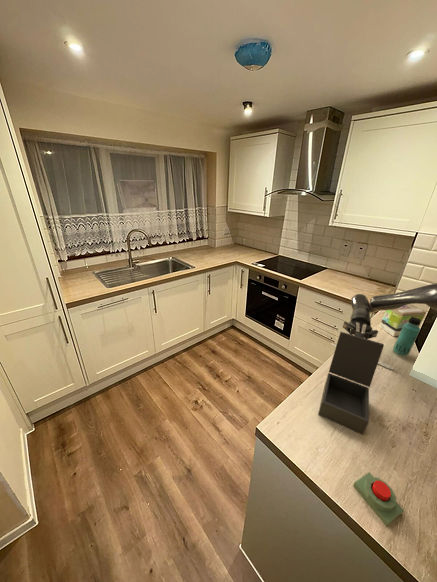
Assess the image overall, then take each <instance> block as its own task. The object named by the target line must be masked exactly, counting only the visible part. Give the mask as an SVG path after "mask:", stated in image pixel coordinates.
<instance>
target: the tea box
mask: <svg viewBox="0 0 437 582" xmlns="http://www.w3.org/2000/svg"><path fill="white" fill-rule="evenodd" d="M426 314H427V311H425V310H423V309H421V308H420V307H418V306H415V305H414V304H407V305H404V306H402V307H400V308H398V309H394V310H385V311H384V314H383V316H382V319H381V321H380V323H379V326H378V327H379V328H380V329H382V330H383V331H385V332H386V333H387V334H388V335H390V336H392V337H399V335H400V332H401V330H402V328H403V325H404V324H406V323H409V319H410V318H411V317H415V318H418V319H420V320H421V322H420V325H417V326H418V327H419V328H420V326H421V324H422V322H423V320H424V318H425V316H426Z"/></svg>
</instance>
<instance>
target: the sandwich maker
mask: <svg viewBox="0 0 437 582" xmlns="http://www.w3.org/2000/svg"><path fill="white" fill-rule="evenodd" d="M369 388H370V387H368V386H365V385H363V384H360V383H357V382H354V381H352V380H349V379H346V378H344V377H341V376H338V375H336V374H333V373H330V372H328V373H327V377H326V380H325V383H324V386H323V391H322V395H321V400H320V405H319V410H318V413H317V415H318V416H319V417H322V418H324V419H326V420H329V421H331V422H333V423H334V424H338V425H340V426H342V427H343V428H346V429H348V430H351V431H353V432H355V433H358V434H359V435H362V436H364V434H365V431H366V429H367V427H368V425H369V423H370V389H369Z"/></svg>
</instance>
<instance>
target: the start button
mask: <svg viewBox="0 0 437 582" xmlns="http://www.w3.org/2000/svg"><path fill="white" fill-rule="evenodd" d="M382 481H383V480H382ZM382 481H375V482H374V484H373V486H372V490H373V493H374V494H375V496H376V497H377V498H378V499H380V500H382V501H387V500H388V499H389V498H390V496H391V491H390V489H389V487H390V486H389V485H388V486H389V487H388V486H387V485H386V484H385V483H383V482H382Z"/></svg>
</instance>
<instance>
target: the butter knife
mask: <svg viewBox="0 0 437 582" xmlns="http://www.w3.org/2000/svg"><path fill="white" fill-rule="evenodd" d="M330 345H332V346H333V347H335V348H336V345H337V344H336V343H333V342H330ZM377 365H379V366H382V367H384V368H386V369H388V370H392V371H393V370H395V368H394V366H392V365H389V364H387V363H385V362H383V361H380V360H379V361H378V364H377Z"/></svg>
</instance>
